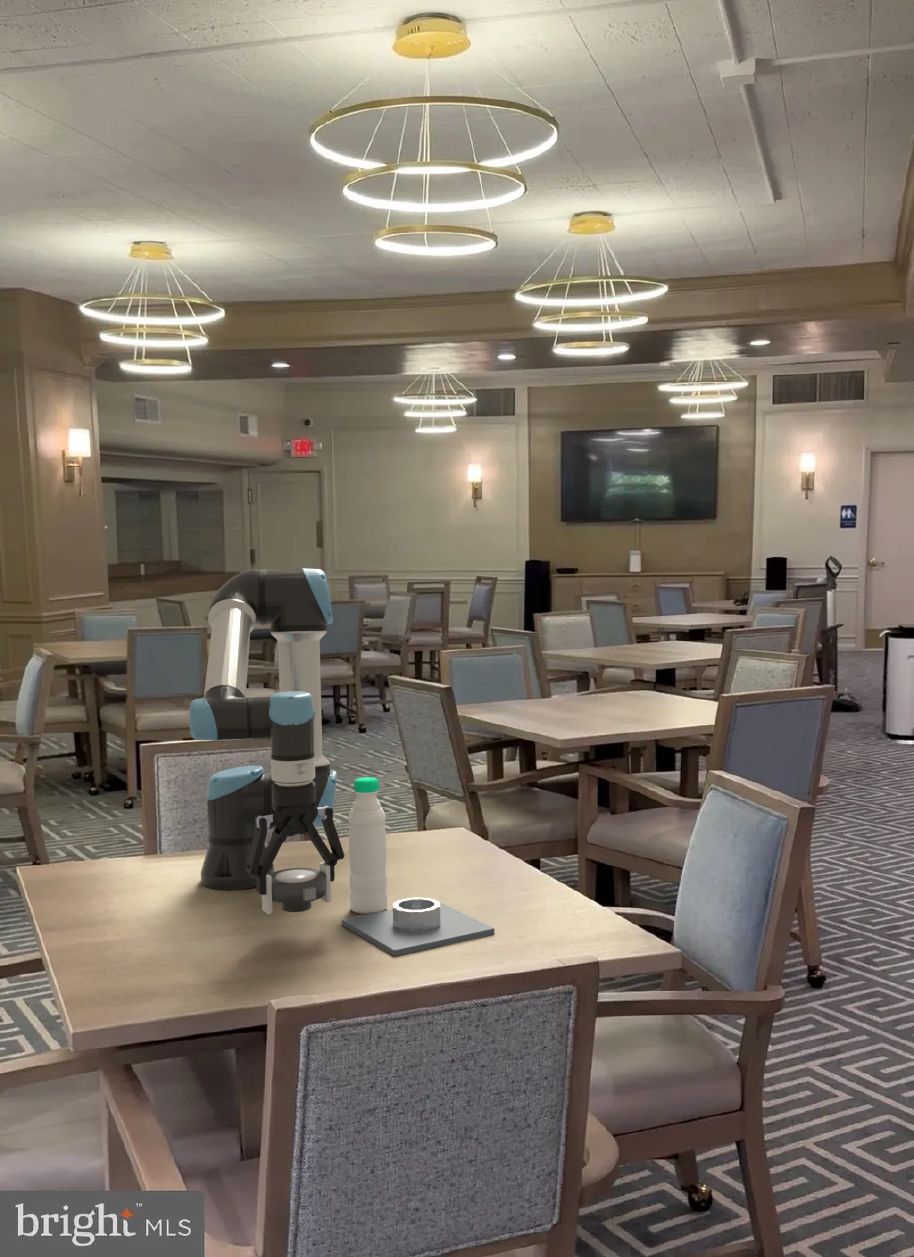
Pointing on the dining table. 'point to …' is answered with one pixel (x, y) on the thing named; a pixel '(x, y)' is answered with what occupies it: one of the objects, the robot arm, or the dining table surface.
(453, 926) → the slate board
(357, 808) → the water bottle
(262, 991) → the dining table surface
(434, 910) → the grey hollow ring
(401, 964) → the dining table surface
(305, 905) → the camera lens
